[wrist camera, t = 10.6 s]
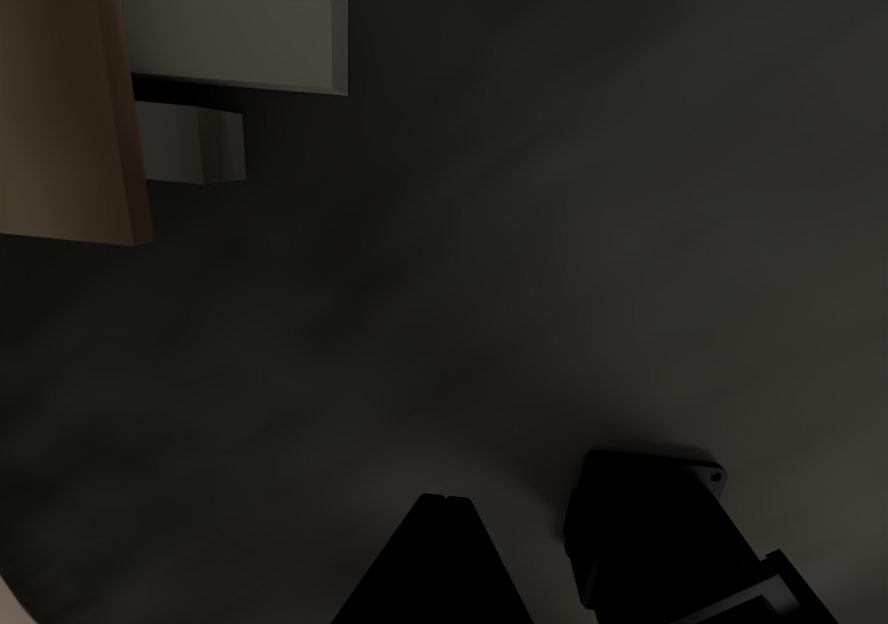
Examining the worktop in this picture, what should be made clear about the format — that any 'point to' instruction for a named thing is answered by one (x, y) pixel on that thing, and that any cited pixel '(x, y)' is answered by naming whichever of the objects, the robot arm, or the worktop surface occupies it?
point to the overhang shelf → (92, 128)
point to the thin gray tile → (240, 43)
